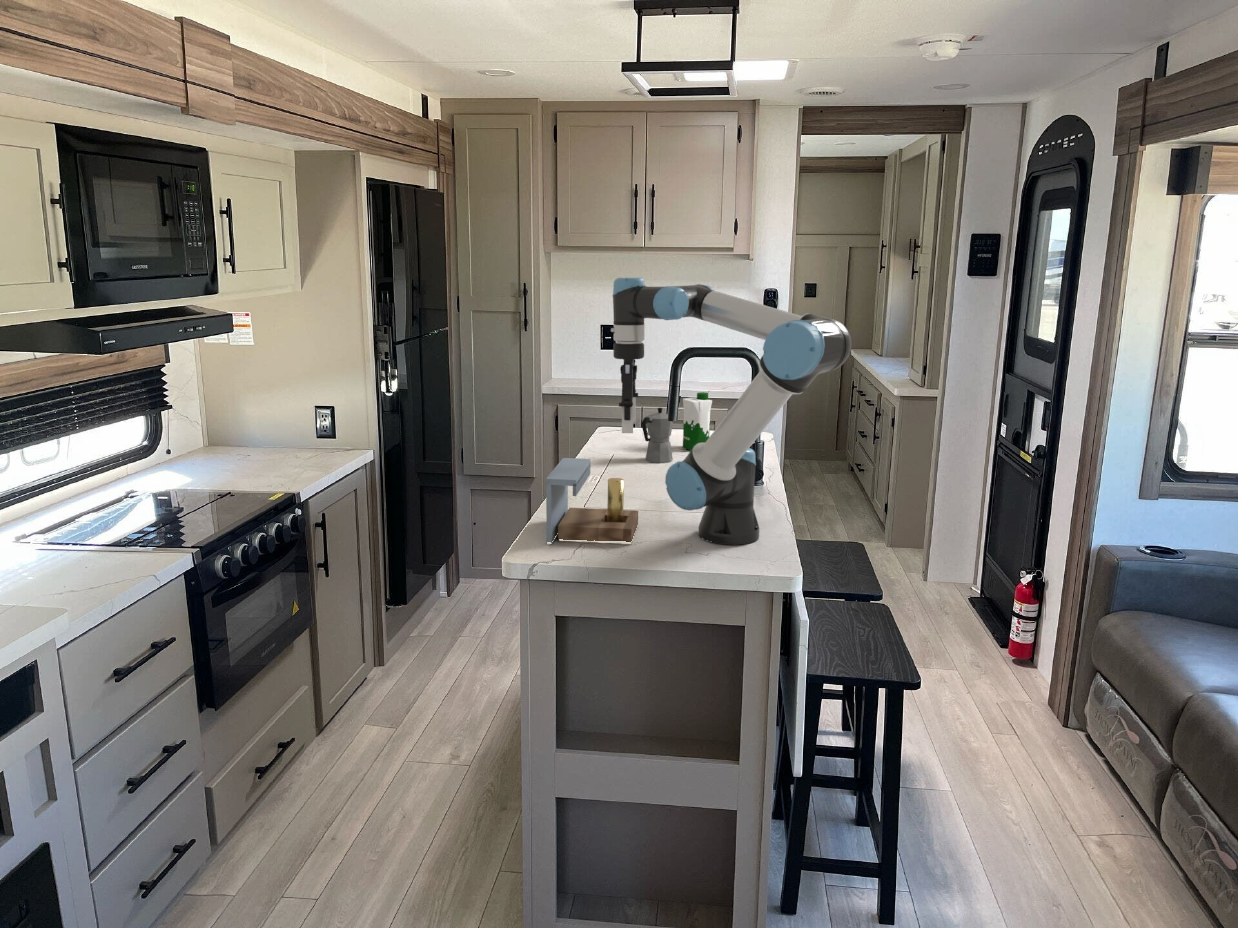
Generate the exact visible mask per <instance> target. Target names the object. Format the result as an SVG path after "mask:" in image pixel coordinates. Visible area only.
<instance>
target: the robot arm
mask: <svg viewBox="0 0 1238 928" xmlns="http://www.w3.org/2000/svg"><path fill="white" fill-rule="evenodd" d="M612 304H613V306H612V309H613V310H612V311H613V327H612V328H610V332H611V333H613V341H615V342H614V344H612V345H613V351H612V352H613V358H615V359H617V360H623V364H622V365H620V381H621V401H620V402H618V407H619V408H620V407H621V434H634V424H636V418H637V417H636V416H637V415H636V414H637V413H636V410H637V409H636V408H637V407H636V405H637V403H636V402H637V401H636V399H637V398H638V397H639V392H637V388H636V380H637V372H638V365H637V364H636V360H640V359H643V358H645V344H644V340H645V328H646V327H645V319H653V320H664V321H673V320H675V321H677V320H680V319H683V318H690V317H691V318H694V319H698V320H702V321H704V322H708V323H710V324H714V325H716V326H720V327H724V328H727V329H729V330H733V331H736V332H739V333H742V334H745V335H748V336H752V337H755V338H758V339H760V340H764V343H763V346H762V350H763V354H762V356H761V357H760V359H759V360H758V361H759V362H758V365H759V369H760V371H758V373H757V375H756V376H755V377H754V378H753V379H752V381H751V382H750V384H749V385H748V386H747V387H746V389H745V390H744V391H743V393H741V395H740V397H739V398H738V399H737V401H736V402H735V403H734V404H733V406H732V407H731V408H730V410H729V411H728V412H727V414H726V415H725V416H724V418H723V419H722V420H721V421H720V423H719V424H718V425H717V427H716V428H715V430H714V431H713V432H712V433H711V434H710V435H709V439H708V440H707V441H706V442H705V443H698V444H696V445H695V446H694V447H693V449H692V450H691V451H690V452H688V454H687V455H686V456H685V458H684V459H683V460H680V461H676V462H675V463H673V464H671V465H670V467H668V469H667V471H666V473H665V478H664V479H665V481H664V483H665V485H666V492H667V495H668V496H669V498H670V500H671V501H672V502H673V504H675V505H676V507H678V508H680V509H681V510H683V511H684V510H685V511H694V510H695V511H697V510H700V509H703V508H704V507H705V508H704V510H703V513H702V516H701V519H700V522H699V525H698V536H699V538H701V539H702V538H703V539H702V540H704V541H706V540H708V541H707V542H709V541H712V542H711V543H713V542H714V544H718V543H721V544H720V545H731V546H735V545H746V544H750V543H751V544H752V543H755V542H757V540H759V538H760V525H759V522H758V519H757V515H756V512H755V509H754V508H755V507H754V503H755V501H754V498H755V485H756V484H755V482H756V480H755V479H756V466H757V462H756V452H755V450H754V449H752V448H750V447H751V446H752V445H753V444H754V443H755V441H756V440H757V439H758V437H759V436H760V435H761V434H762V433H763V431H764V430H765V429H766V428H767V427H768V425H769V424H770V423H771V422H772V420H773V419H774V418H775V417H776V415H777V414H778V413H779V411H780V410H781V409H782V408H783V406H785V404H787V401H789V399H790V398H791V397H792V396H793V395H801V394H803V393H804V392H805V391H806V389H807V388H808V387H809V386H810V384H811V383H813V381H814V380H815V379H816V377H817V376H818V375H820V374H825V373H828V372H832V371H835V370H837V369H838V368H840V367H841V366H842V365H843V364H844V363H845V362H846V361H847V360H848V358H849V356H850V354H851V351H852V338H851V334H850V332H849V330H848V329H847V327H846V326H845V325H844V324H843V323H841V322H840V321H838V320H836V319H834V318H831V317H824V316H821V315H816V314H813V313H809V312H807V313H804V314H803V315H801V314H800V315H799V314H796V313H793V312H789V311H787V310H786V311H785V310H782V309H778V308H775V307H772V306H768V305H765V304H761V303H759V302H755V301H751V300H749V299H748V300H747V299H744V298H741V297H737V296H734V295H730V294H726V293H723V292H720V291H716V290H715V289H714V288H713V287H712V286H711V285H706V284H701V283H700V284H699V283H698V284H694V285H693V284H689V285H672V286H671V285H670V286H669V285H668V286H646V285H645V279H644V278H643V277H617V278H615V279H614V281H613V289H612Z"/></svg>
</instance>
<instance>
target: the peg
mask: <svg viewBox="0 0 1238 928" xmlns="http://www.w3.org/2000/svg"><path fill="white" fill-rule="evenodd" d="M624 494H625V479H624V478H621V477H620V478H619V477H611V478H608V479H607V508H606V509H607V522H620V523H623V510H624V504H625V503H624V496H625V495H624Z"/></svg>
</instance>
